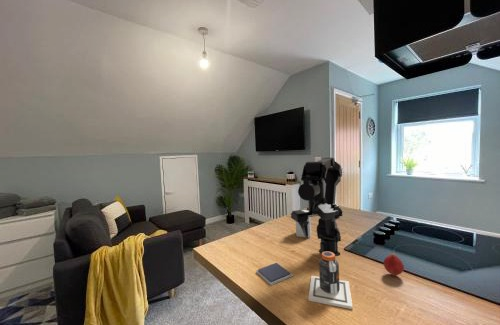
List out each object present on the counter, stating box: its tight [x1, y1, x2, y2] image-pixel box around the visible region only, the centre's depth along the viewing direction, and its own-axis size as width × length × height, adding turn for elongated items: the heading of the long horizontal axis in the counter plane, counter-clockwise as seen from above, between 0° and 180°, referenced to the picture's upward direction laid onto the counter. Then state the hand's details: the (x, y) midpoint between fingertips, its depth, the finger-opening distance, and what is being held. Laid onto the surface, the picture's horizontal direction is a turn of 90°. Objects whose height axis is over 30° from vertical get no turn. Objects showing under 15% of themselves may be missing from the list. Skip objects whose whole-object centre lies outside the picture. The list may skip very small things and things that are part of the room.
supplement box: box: [295, 209, 312, 239], centre depth 112 cm, size 7×7×13 cm
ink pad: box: [256, 262, 294, 286], centre depth 77 cm, size 10×10×1 cm
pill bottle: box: [318, 251, 340, 294], centre depth 66 cm, size 6×6×11 cm
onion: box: [383, 253, 405, 277], centre depth 73 cm, size 6×6×8 cm
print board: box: [307, 275, 354, 310], centre depth 66 cm, size 12×12×1 cm
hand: (317, 236), depth 78 cm, fingers open, 9 cm apart
